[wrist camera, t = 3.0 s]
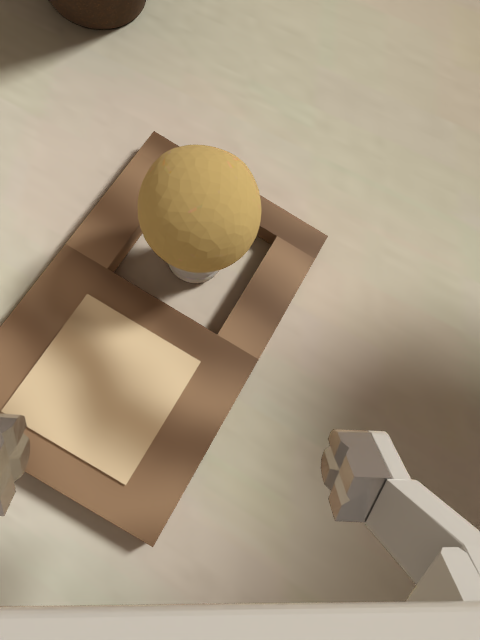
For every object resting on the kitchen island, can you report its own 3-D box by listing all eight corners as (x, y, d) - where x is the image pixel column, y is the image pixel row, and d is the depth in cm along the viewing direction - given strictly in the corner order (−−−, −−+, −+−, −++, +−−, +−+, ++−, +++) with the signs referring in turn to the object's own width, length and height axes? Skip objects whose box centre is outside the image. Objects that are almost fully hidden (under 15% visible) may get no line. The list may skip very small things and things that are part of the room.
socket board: (155, 145, 29) (153, 129, 28) (320, 244, 30) (329, 234, 28) (-55, 415, 23) (-72, 415, 22) (154, 539, 24) (152, 548, 22)
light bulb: (242, 222, 29) (275, 127, 19) (238, 308, 28) (271, 251, 18) (152, 212, 28) (139, 107, 19) (142, 300, 27) (122, 235, 17)
